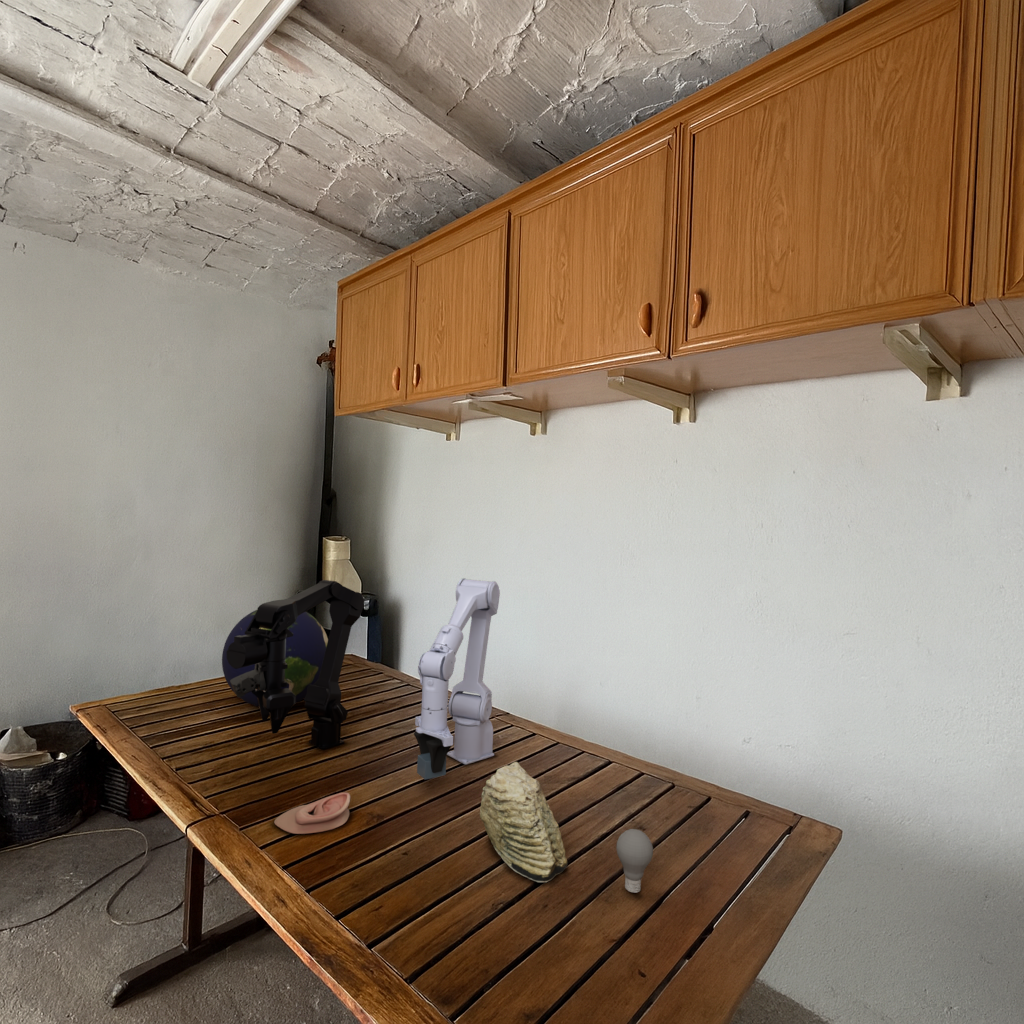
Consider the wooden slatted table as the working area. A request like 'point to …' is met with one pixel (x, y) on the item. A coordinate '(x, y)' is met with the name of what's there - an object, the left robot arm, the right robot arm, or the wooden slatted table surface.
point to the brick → (428, 767)
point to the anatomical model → (316, 815)
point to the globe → (287, 655)
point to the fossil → (522, 824)
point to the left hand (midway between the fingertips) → (269, 726)
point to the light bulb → (634, 857)
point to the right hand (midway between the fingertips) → (432, 767)
